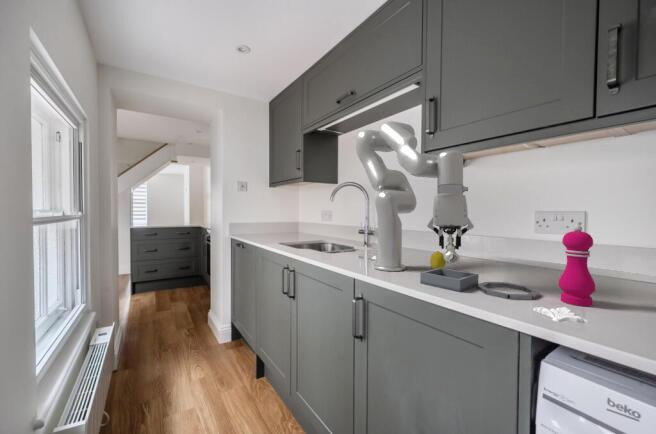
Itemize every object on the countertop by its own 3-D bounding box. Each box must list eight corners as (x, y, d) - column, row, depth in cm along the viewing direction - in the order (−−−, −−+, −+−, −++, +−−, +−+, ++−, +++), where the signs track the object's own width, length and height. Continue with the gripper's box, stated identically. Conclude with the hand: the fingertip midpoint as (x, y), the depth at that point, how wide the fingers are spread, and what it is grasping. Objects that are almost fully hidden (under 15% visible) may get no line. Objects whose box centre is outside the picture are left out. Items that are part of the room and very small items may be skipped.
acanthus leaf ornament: (532, 313, 69) (533, 305, 69) (561, 313, 69) (562, 305, 69) (557, 325, 62) (557, 316, 62) (590, 325, 61) (590, 316, 61)
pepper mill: (554, 301, 75) (555, 224, 75) (562, 296, 80) (564, 223, 79) (591, 309, 70) (593, 226, 69) (598, 303, 74) (600, 225, 74)
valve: (442, 265, 89) (441, 226, 89) (438, 262, 96) (437, 225, 96) (465, 265, 88) (464, 226, 88) (459, 262, 95) (458, 225, 95)
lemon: (443, 274, 107) (444, 252, 107) (428, 272, 110) (428, 251, 110) (446, 271, 112) (447, 250, 112) (432, 269, 115) (432, 249, 115)
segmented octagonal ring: (469, 290, 86) (469, 287, 86) (490, 282, 95) (490, 279, 95) (527, 303, 74) (527, 299, 74) (544, 292, 83) (544, 289, 83)
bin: (420, 283, 94) (420, 272, 94) (440, 277, 102) (440, 267, 102) (459, 292, 84) (459, 280, 84) (478, 285, 92) (478, 274, 92)
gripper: (477, 191, 93) (477, 248, 93) (423, 192, 99) (423, 246, 99) (481, 189, 86) (480, 251, 86) (421, 191, 92) (421, 249, 92)
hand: (449, 248), depth 93 cm, fingers closed on valve, 3 cm apart
